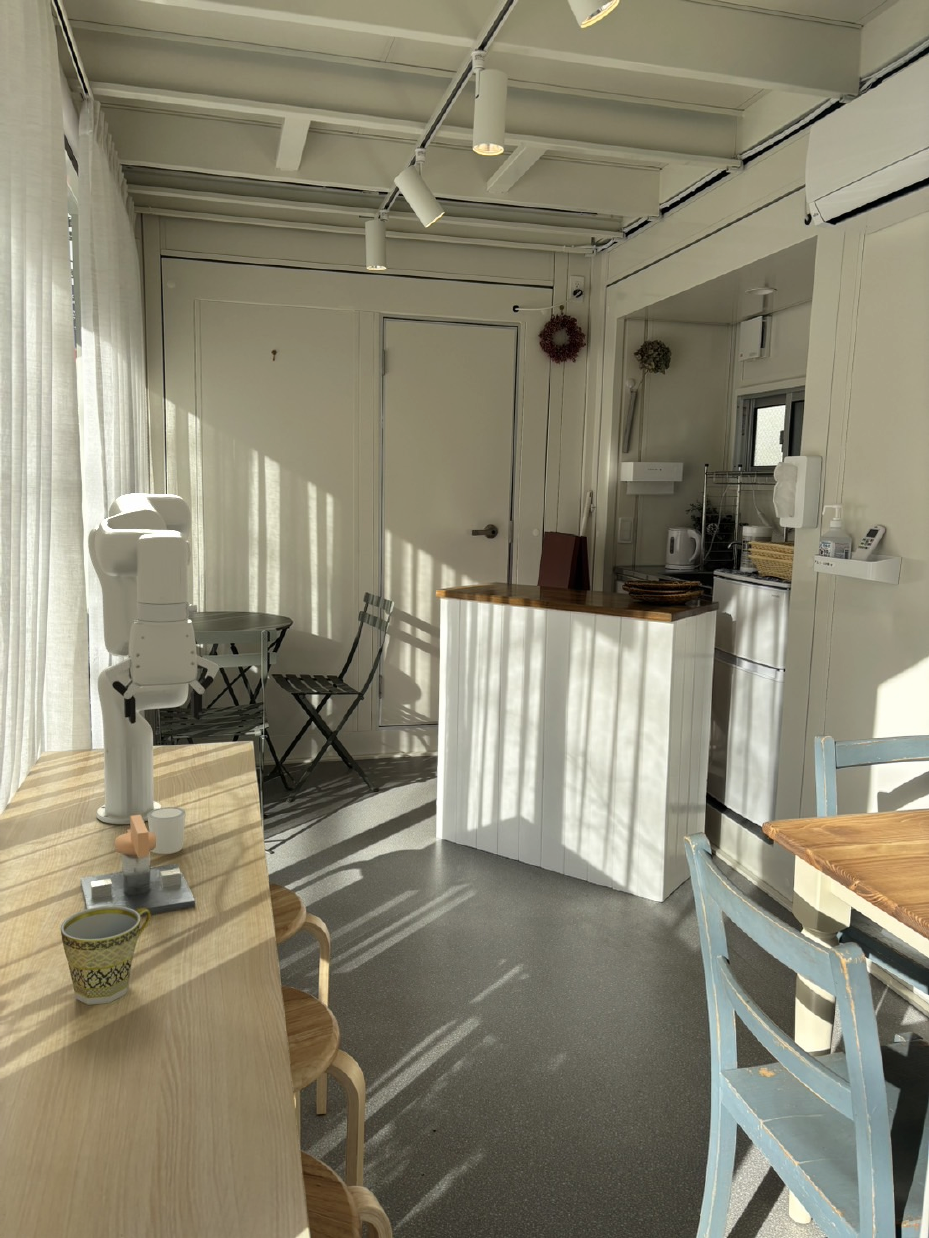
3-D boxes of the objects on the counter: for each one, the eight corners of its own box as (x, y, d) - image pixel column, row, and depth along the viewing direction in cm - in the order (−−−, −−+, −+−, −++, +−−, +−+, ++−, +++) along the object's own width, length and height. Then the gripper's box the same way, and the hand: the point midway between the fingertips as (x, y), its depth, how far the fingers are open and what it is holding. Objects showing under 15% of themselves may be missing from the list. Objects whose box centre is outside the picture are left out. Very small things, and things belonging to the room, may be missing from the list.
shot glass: (174, 857, 171) (174, 820, 170) (140, 852, 173) (140, 816, 172) (192, 843, 178) (192, 808, 177) (159, 839, 179) (159, 804, 178)
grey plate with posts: (80, 884, 158) (79, 838, 157) (177, 870, 166) (177, 826, 164) (89, 924, 144) (88, 874, 143) (195, 907, 151) (194, 859, 150)
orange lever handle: (111, 839, 157) (111, 807, 156) (151, 834, 160) (150, 802, 159) (122, 870, 145) (121, 835, 144) (164, 864, 148) (164, 830, 147)
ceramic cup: (94, 1020, 119) (92, 947, 118) (46, 996, 124) (44, 925, 123) (174, 977, 130) (173, 910, 129) (127, 956, 135) (126, 891, 134)
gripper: (213, 608, 153) (213, 709, 155) (101, 611, 145) (103, 717, 147) (223, 614, 146) (223, 720, 149) (106, 618, 138) (108, 729, 141)
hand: (163, 719), depth 148 cm, fingers open, 9 cm apart
